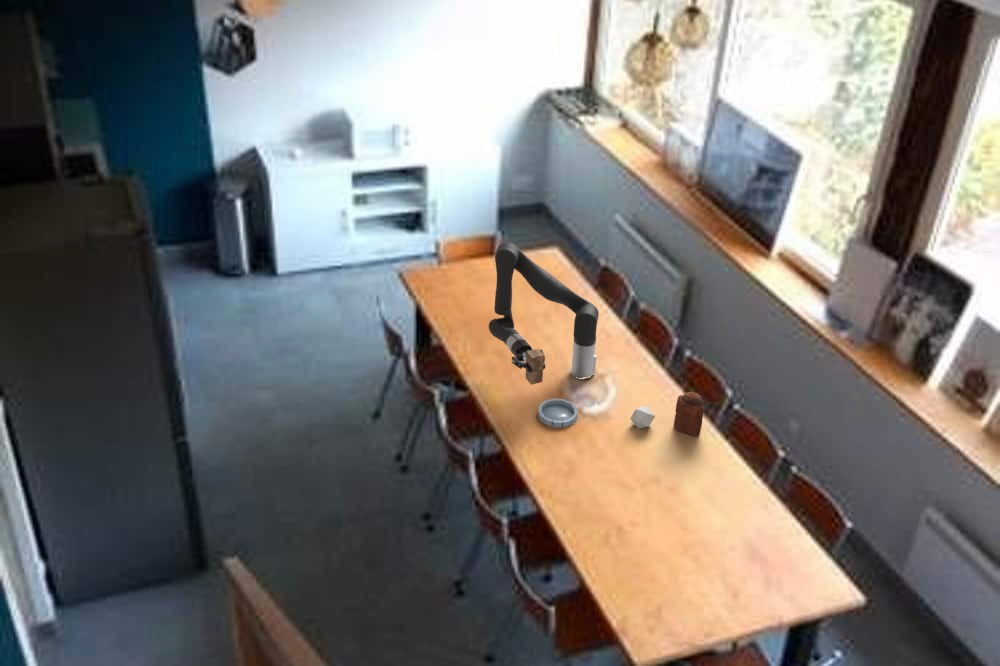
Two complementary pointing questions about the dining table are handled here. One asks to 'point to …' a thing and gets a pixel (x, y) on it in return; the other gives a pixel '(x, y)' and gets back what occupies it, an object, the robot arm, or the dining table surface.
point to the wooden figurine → (689, 414)
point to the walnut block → (535, 366)
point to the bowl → (557, 413)
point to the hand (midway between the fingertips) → (537, 369)
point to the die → (642, 417)
